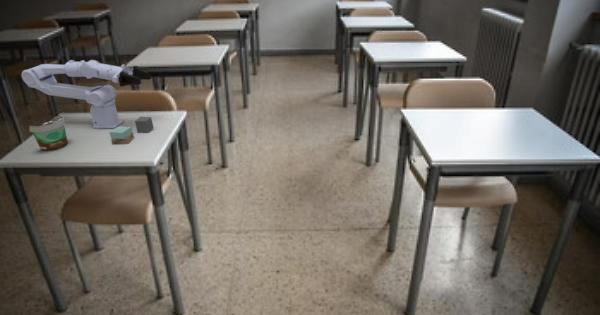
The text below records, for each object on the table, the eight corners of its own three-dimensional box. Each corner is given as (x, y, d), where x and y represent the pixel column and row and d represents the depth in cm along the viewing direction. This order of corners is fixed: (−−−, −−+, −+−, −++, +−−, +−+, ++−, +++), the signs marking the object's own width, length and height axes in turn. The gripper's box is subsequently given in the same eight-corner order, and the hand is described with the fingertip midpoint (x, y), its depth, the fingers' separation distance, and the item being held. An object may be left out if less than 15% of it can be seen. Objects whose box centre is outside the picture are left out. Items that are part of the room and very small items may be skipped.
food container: (46, 155, 148) (37, 129, 143) (36, 151, 151) (27, 126, 146) (78, 142, 157) (71, 117, 152) (69, 139, 160) (61, 114, 155)
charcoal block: (137, 132, 163) (134, 120, 161) (143, 128, 167) (140, 116, 165) (148, 133, 163) (145, 121, 160) (153, 128, 167) (151, 116, 164)
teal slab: (110, 138, 154) (109, 131, 153) (120, 132, 159) (118, 126, 158) (123, 139, 153) (122, 132, 152) (132, 133, 158) (131, 127, 156)
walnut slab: (112, 145, 154) (111, 139, 153) (118, 138, 160) (116, 132, 158) (128, 144, 154) (127, 138, 153) (134, 138, 160) (132, 132, 159)
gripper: (100, 66, 153) (135, 73, 151) (122, 59, 166) (154, 64, 164) (101, 85, 156) (135, 91, 154) (123, 76, 169) (154, 82, 167)
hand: (145, 79), depth 160 cm, fingers open, 7 cm apart
